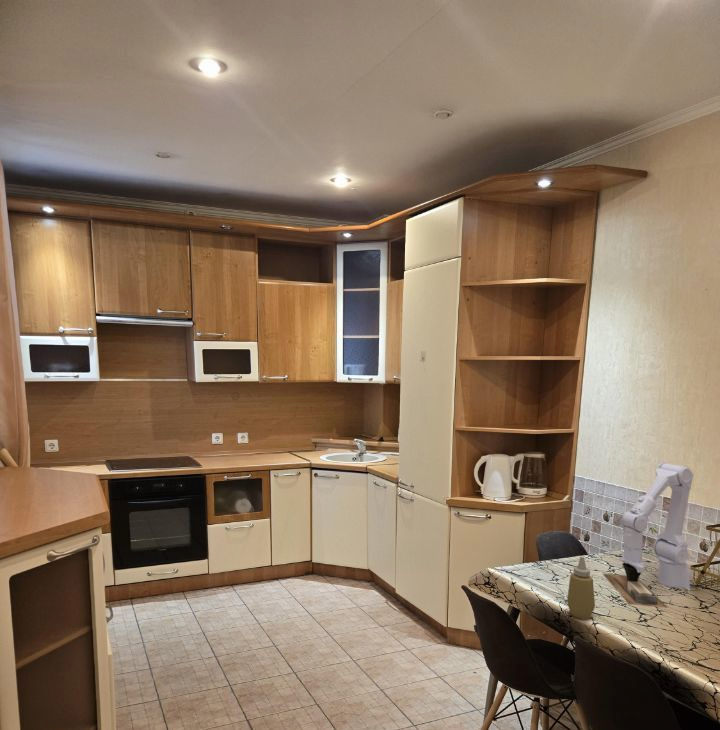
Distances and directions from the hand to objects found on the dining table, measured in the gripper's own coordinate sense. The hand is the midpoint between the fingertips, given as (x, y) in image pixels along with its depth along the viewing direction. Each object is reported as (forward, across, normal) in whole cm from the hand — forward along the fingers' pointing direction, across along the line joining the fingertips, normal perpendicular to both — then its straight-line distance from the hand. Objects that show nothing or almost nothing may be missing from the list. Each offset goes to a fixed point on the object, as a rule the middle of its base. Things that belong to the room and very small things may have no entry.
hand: (632, 585), depth 180 cm
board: (+2, +1, 0) cm, 2 cm away
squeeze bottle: (+2, +24, -24) cm, 34 cm away
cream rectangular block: (+1, +6, 0) cm, 6 cm away
